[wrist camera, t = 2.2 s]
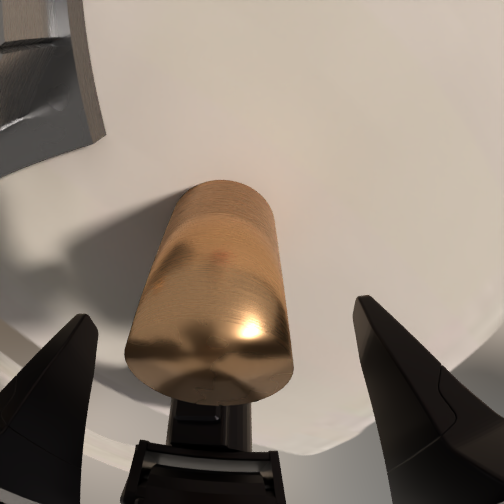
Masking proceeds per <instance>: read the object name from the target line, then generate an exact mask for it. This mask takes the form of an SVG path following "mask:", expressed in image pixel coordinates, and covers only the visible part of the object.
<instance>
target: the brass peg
mask: <svg viewBox="0 0 504 504" xmlns="http://www.w3.org/2000/svg"><path fill="white" fill-rule="evenodd" d="M124 356H125V360H126V363H127V365H128V367H129V368H130V370H131V371H132V373H133V374H134V375H135V376H136V377H137V378H138V379H139V380H140V381H142V382H143V383H144V384H146V385H147V386H149V387H150V388H152V389H154V390H156V391H158V392H160V393H162V394H164V395H166V396H169V397H172V398H175V399H178V400H181V401H185V402H190V403H195V404H202V405H213V406H228V405H240V404H246V403H251V402H255V401H258V400H261V399H264V398H266V397H269V396H271V395H273V394H275V393H276V392H278V391H279V390H281V389H282V388H283V387H284V386H285V385H286V384H287V383H288V382H289V380H290V379H291V377H292V375H293V370H294V366H293V357H292V349H291V340H290V332H289V324H288V316H287V308H286V300H285V293H284V285H283V278H282V270H281V263H280V256H279V249H278V242H277V235H276V228H275V221H274V216H273V213H272V210H271V208H270V206H269V204H268V203H267V201H266V200H265V199H264V198H263V197H262V196H261V195H260V194H259V193H258V192H257V191H255V190H254V189H252V188H250V187H248V186H246V185H244V184H241V183H238V182H234V181H229V180H214V181H209V182H205V183H202V184H199V185H197V186H195V187H193V188H192V189H190V190H189V191H187V192H186V193H185V194H184V195H183V196H182V197H181V198H180V200H179V201H178V203H177V204H176V206H175V209H174V211H173V214H172V216H171V218H170V221H169V223H168V226H167V228H166V231H165V233H164V236H163V238H162V241H161V244H160V246H159V249H158V251H157V254H156V257H155V259H154V262H153V265H152V268H151V270H150V273H149V276H148V279H147V282H146V284H145V287H144V290H143V293H142V296H141V299H140V302H139V305H138V308H137V311H136V314H135V317H134V320H133V324H132V327H131V330H130V333H129V336H128V340H127V343H126V347H125V353H124Z"/></svg>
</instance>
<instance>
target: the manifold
mask: <svg viewBox="0 0 504 504" xmlns="http://www.w3.org/2000/svg"><path fill="white" fill-rule="evenodd" d="M105 135H106V132H105V128H104V123H103V119H102V115H101V111H100V106H99V102H98V97H97V93H96V88H95V83H94V78H93V73H92V67H91V61H90V56H89V49H88V43H87V36H86V29H85V21H84V12H83V2H82V0H0V177H2V176H5V175H7V174H9V173H12V172H14V171H17V170H19V169H22V168H24V167H27V166H29V165H32V164H34V163H37V162H40V161H42V160H45V159H48V158H51V157H54V156H57V155H59V154H62V153H65V152H68V151H72V150H75V149H78V148H81V147H84V146H88V145H91V144H94V143H95V142H97V141H98V140H99V139H101V138H102V137H104V136H105Z"/></svg>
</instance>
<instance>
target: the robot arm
mask: <svg viewBox="0 0 504 504" xmlns="http://www.w3.org/2000/svg"><path fill="white" fill-rule="evenodd" d="M353 323H354V329H355V334H356V340H357V346H358V352H359V358H360V363H361V367H362V371H363V374H364V378H365V382H366V385H367V389H368V393H369V396H370V400H371V404H372V408H373V412H374V416H375V420H376V424H377V428H378V433H379V436H380V441H381V445H382V450H383V455H384V459H385V464H386V469H387V472H388V473H387V475H388V480H389V485H390V491H391V496H392V502H393V504H504V418H503V417H501V416H500V415H498V414H497V413H496V412H494V411H493V410H492V409H491V408H489V407H488V406H487V405H486V404H485V403H484V402H482V401H481V400H480V399H479V398H478V397H476V396H475V395H474V394H473V393H472V392H471V391H469V390H468V389H467V388H466V387H465V386H464V385H462V384H461V383H460V382H459V381H458V380H457V379H456V378H455V377H454V376H453V375H452V374H451V373H450V372H449V371H448V370H447V369H446V368H445V367H444V366H443V365H442V366H441V363H440V362H439V361H438V360H437V359H436V358H435V357H434V356H433V355H432V354H431V353H430V352H429V351H428V350H427V349H426V348H425V347H424V346H423V345H422V344H421V343H420V342H419V341H418V340H417V339H416V338H415V337H414V336H413V335H411V334H410V333H409V332H408V331H407V330H406V329H405V328H404V327H403V326H402V325H401V324H400V323H399V322H398V321H397V320H396V319H395V318H394V317H393V316H392V315H390V314H389V313H388V312H387V311H386V310H385V309H384V308H383V307H382V306H381V305H380V304H379V303H378V302H377V301H375V300H374V299H373V298H372V297H371V296H369V295H364V296H358V297H357V298H356V301H355V306H354V311H353ZM97 342H98V329H97V327H96V326H95V324H94V323H93V321H92V320H91V318H90V317H89V315H87V314H77V315H76V316H75V317H74V318H72V319H71V320H70V321H69V322H68V323H67V324H66V325H65V326H64V327H63V328H62V329H61V330H60V331H59V332H58V333H57V334H56V335H55V336H54V337H53V338H52V339H51V340H50V341H49V342H48V343H47V344H46V345H45V346H44V347H43V348H42V349H41V350H40V351H39V352H38V353H37V354H36V355H35V356H34V357H33V358H32V359H31V360H30V361H29V362H28V363H27V364H26V366H25V367H23V368H22V370H21V371H20V372H19V373H18V374H17V376H15V377H14V378H13V379H12V380H11V381H10V382H9V383H8V385H7V386H6V387H5V388H4V389H3V390H2V391H1V392H0V504H80V486H81V485H80V484H81V466H82V454H83V443H84V434H85V426H86V418H87V411H88V404H89V399H90V392H91V387H92V381H93V376H94V369H95V359H96V350H97ZM258 401H259V400H258ZM255 402H256V401H255ZM190 468H191V469H190ZM200 469H201V470H200ZM212 470H213V471H212ZM229 471H230V472H229ZM120 503H121V504H286V500H285V494H284V487H283V481H282V474H281V468H280V462H279V455H278V451H269V452H252V426H251V403H246V404H240V405H228V406H213V405H202V404H195V403H190V402H185V401H181V400H178V399H175V398H172V400H171V407H170V415H169V423H168V431H167V440H166V445H162V444H156V443H150V442H149V441H146V440H140V442H139V445H136V448H135V453H134V457H133V461H132V465H131V469H130V473H129V477H128V479H127V482H126V484H125V487H124V490H123V492H122V495H121V497H120Z"/></svg>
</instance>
